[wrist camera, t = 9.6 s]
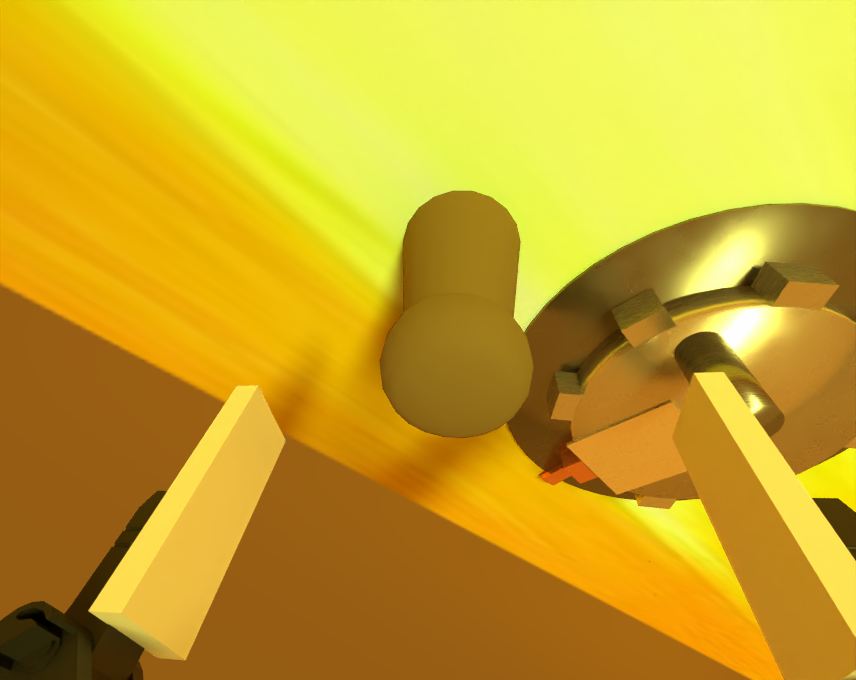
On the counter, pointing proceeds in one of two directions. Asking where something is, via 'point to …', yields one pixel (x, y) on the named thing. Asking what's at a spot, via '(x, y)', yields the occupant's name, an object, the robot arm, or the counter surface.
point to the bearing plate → (672, 297)
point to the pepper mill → (458, 320)
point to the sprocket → (702, 353)
